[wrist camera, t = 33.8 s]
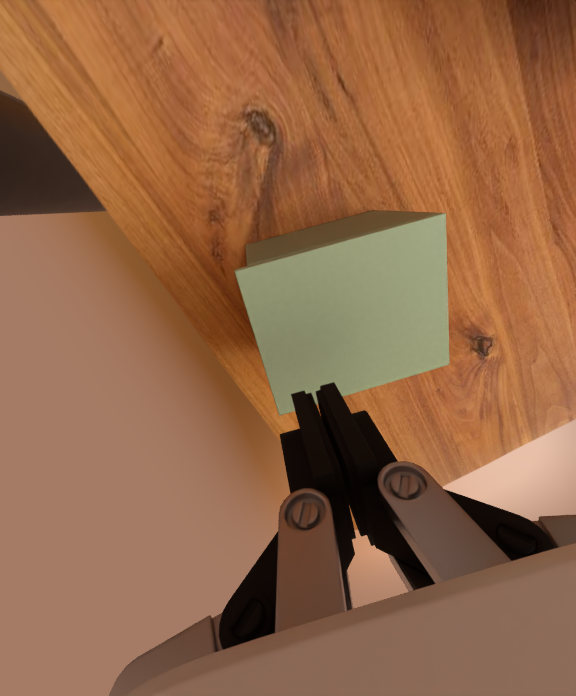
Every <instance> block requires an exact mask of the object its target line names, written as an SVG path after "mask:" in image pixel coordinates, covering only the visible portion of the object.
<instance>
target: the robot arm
mask: <svg viewBox="0 0 576 696" xmlns="http://www.w3.org/2000/svg"><path fill="white" fill-rule="evenodd" d="M316 396H317V401H318V405H319V409H320V413H319V411H318V408H317V406H316V403H315V401H314V398H313V395H312V393H307V394H306V392H305V390H303V391H300V392H296V393H293V394H291V397H292V401H293V404H294V408H295V412H296V415H297V419H298V423H299V426H300V429H297V430H293V431H289V432H286V433H282V434H280V439H281V444H282V450H283V455H284V461H285V466H286V472H287V477H288V482H289V487H290V493H291V494H290V495H289V496H288V497H287V498H286V499H285V500H284V501H283V503H282V505H281V507H280V512H279V527H278V532H277V533H276V535H275V536H274V538H273V539H272V540H271V542H270V543H269V545H268V546H267V548H266V549H265V550H264V552H263V553H262V555H261V556H260V557H259V559H258V560H257V562H256V564H255V565H254V566H253V567H252V569H251V570H250V572H249V573H248V575H247V576H246V577H245V579H244V580H243V582H242V583H241V584H240V586H239V587H238V589H237V590H236V592H235V593H234V594H233V596H232V597H231V599H230V600H229V601H228V603H227V605H226V607H225V609H224V611H223V612H222V613H221V614H219V615H217V616H216V617H214V618H211V616H207V617H206V618H204V619H202V620H201V621H199V622H197V623H195V624H194V625H192V626H190V627H189V628H187V629H185V630H184V631H182V632H180V633H178V634H177V635H175V636H173V637H171V638H170V639H168V640H166V641H165V642H163V643H161V644H159V645H158V646H156V647H155V648H153V649H151V650H149V651H147V652H146V653H144V654H142V655H141V656H139V657H137V658H136V659H135V660H133V661H132V662H131V663H130V664H128V665H127V666H126V667H125V669H124V670H123V671H122V673H121V674H120V675H119V676H118V678H117V679H116V681H115V684H114V686H113V688H112V690H111V692H110V695H109V696H576V515H561V516H541V517H539V520H538V521H530V520H528V519H526V518H524V517H522V516H520V515H517V514H514V513H511V512H508V511H505V510H503V509H500V508H497V507H494V506H491V505H488V504H485V503H482V502H479V501H477V500H474V499H471V498H468V497H465V496H462V495H459V494H456V493H453V492H450V491H447V490H445V489H443V488H442V487H441V486H440V485H439V484H438V483H437V482H436V481H435V479H434V478H433V477H432V476H431V475H430V474H429V473H428V472H427V471H426V470H424V469H423V468H422V467H421V466H419V465H416V464H414V463H410V462H406V461H401V462H398V461H397V459H396V458H395V456H394V455H393V453H392V451H391V450H390V448H389V447H388V445H387V443H386V442H385V440H384V439H383V437H382V435H381V434H380V432H379V430H378V429H377V427H376V426H375V424H374V422H373V421H372V419H371V418H370V416H369V414H368V413H367V412H366V411H365V410H364V411H360V412H357V413H353V414H351V412H350V410H349V408H348V406H347V405H346V403H345V401H344V399H343V397H342V395H341V393H340V392H339V390H338V388H337V386H336V384H335V383H334V382H332V383H329V384H325V385H321V386H320V390H318V391H316ZM320 414H321V416H320ZM321 418H322V419H321ZM349 506H350V508H349ZM350 509H351V511H352V514H353V517H354V519H355V522H356V525H357V528H358V530H359V533H360V535H361V536H364V535H367V536H368V539H369V541H370V544H371V545H372V546H373V545H375V547H376V548H377V549H379V550H381V551H383V552H385V553H387V554H388V555H389V558H390V560H391V562H392V564H393V566H394V567H395V569H396V571H397V573H398V574H399V576H400V578H401V579H402V581H403V582H404V584H405V586H406V588H407V589H408V591H409V592H407V593H404V594H401V595H398V596H394V597H391V598H387V599H384V600H381V601H378V602H374V603H371V604H368V605H364V606H362V607H358V608H355V609H353V603H352V597H351V591H350V583H349V577H348V572H347V569H348V567H349V565H350V563H351V561H352V559H353V557H354V555H355V552H354V548H353V543H352V539H354V538H356V536H355V532H354V526H353V522H352V517H351V512H350Z"/></svg>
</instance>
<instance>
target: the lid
mask: <svg viewBox="0 0 576 696" xmlns="http://www.w3.org/2000/svg"><path fill="white" fill-rule="evenodd" d="M235 275H236V278H237V282H238V285H239V288H240V291H241V294H242V298H243V301H244V304H245V307H246V310H247V314H248V317H249V320H250V323H251V326H252V330H253V333H254V336H255V339H256V342H257V346H258V349H259V352H260V355H261V358H262V362H263V365H264V368H265V371H266V374H267V378H268V381H269V384H270V387H271V390H272V394H273V397H274V400H275V403H276V406H277V410H278V413H279V415H283V414H286V413H289V412H293V411H295V408H294V404H293V401H292V397H291V394H293V393H296V392H300V391H303V390H305V392H306V394H307V393H312V395H313V398H314V401H315V403H316V404H318V401H317V396H316V391H318V390H320V386H321V385H325V384H329V383H332V382H334V383H335V384H336V386H337V388H338V390H339V392H340V393H341V395H342V397H343V396H346V395H349V394H353V393H356V392H359V391H363V390H366V389H369V388H373V387H376V386H379V385H383V384H386V383H389V382H393V381H396V380H399V379H403V378H406V377H409V376H413V375H416V374H419V373H423V372H426V371H429V370H433V369H436V368H439V367H443V366H446V365H449V328H448V285H447V243H446V213H437V214H433V215H429V216H426V217H422V218H419V219H415V220H411V221H408V222H404V223H400V224H397V225H393V226H390V227H386V228H382V229H379V230H375V231H372V232H368V233H364V234H361V235H357V236H353V237H350V238H346V239H343V240H339V241H335V242H332V243H328V244H325V245H321V246H317V247H314V248H310V249H306V250H303V251H299V252H296V253H292V254H288V255H285V256H281V257H278V258H274V259H270V260H267V261H263V262H259V263H256V264H252V265H249V266H245V267H241V268H238V269H235Z"/></svg>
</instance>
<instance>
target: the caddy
mask: <svg viewBox="0 0 576 696" xmlns="http://www.w3.org/2000/svg"><path fill="white" fill-rule="evenodd" d="M433 214H437V213H429V212H403V211H378V210H373V211H369V212H365V213H362V214H358V215H354V216H350V217H347V218H343V219H339V220H336V221H332V222H328V223H324V224H321V225H317V226H313V227H310V228H306V229H302V230H298V231H295V232H291V233H287V234H284V235H280V236H276V237H273V238H269V239H265V240H261V241H258V242H254V243H250V244H247V245H245V247H246V261H247V266H249V265H252V264H256V263H259V262H263V261H267V260H270V259H274V258H278V257H281V256H285V255H288V254H292V253H296V252H299V251H303V250H306V249H310V248H314V247H317V246H321V245H325V244H328V243H332V242H335V241H339V240H343V239H346V238H350V237H353V236H357V235H361V234H364V233H368V232H372V231H375V230H379V229H382V228H386V227H390V226H393V225H397V224H400V223H404V222H408V221H411V220H415V219H419V218H422V217H426V216H429V215H433Z"/></svg>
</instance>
